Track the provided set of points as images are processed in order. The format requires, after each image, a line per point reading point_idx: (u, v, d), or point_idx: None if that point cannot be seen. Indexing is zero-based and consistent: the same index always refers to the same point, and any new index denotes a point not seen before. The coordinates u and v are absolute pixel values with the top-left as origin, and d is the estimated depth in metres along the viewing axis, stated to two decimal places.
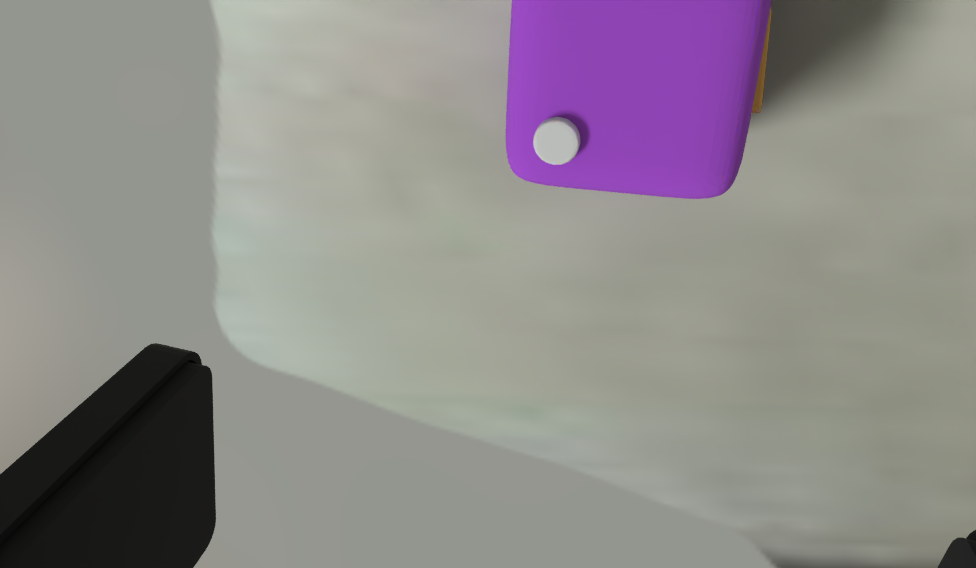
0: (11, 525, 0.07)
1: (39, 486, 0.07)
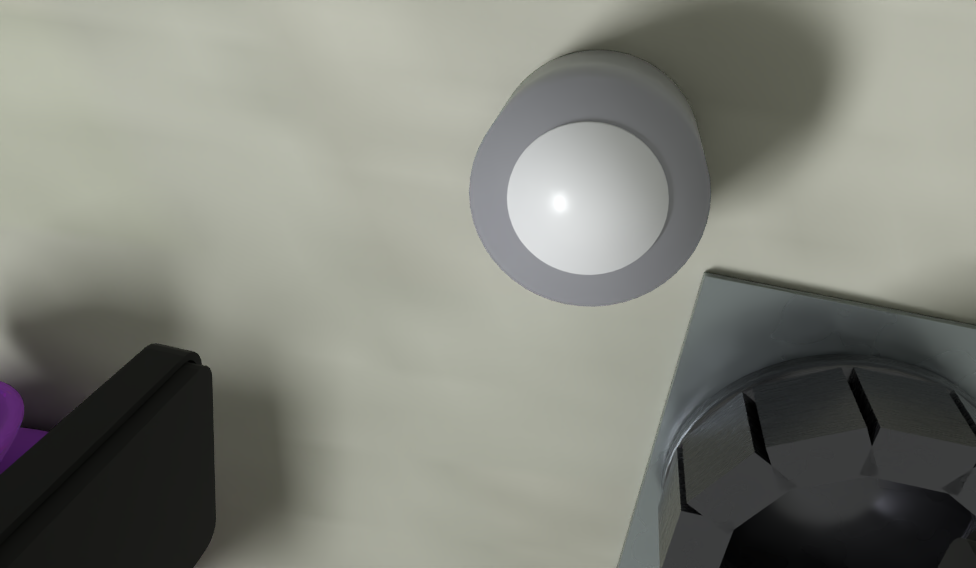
0: (11, 524, 0.07)
1: (39, 486, 0.07)
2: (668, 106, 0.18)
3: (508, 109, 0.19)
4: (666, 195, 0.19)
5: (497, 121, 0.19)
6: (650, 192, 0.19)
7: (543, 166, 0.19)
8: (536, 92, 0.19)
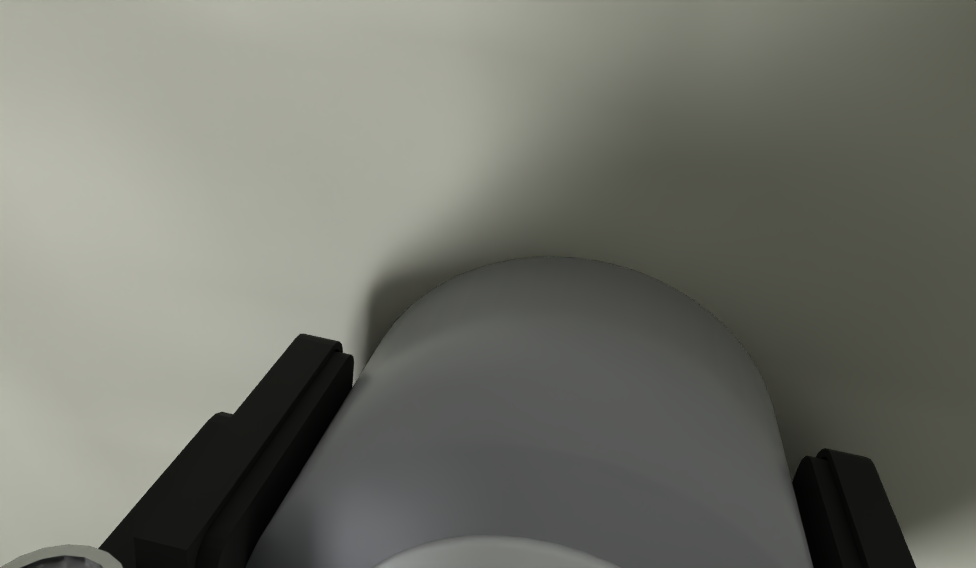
0: (226, 495, 0.07)
1: (241, 461, 0.08)
2: (735, 523, 0.07)
3: (309, 490, 0.07)
4: None
5: (285, 513, 0.07)
6: None
7: None
8: (376, 461, 0.07)
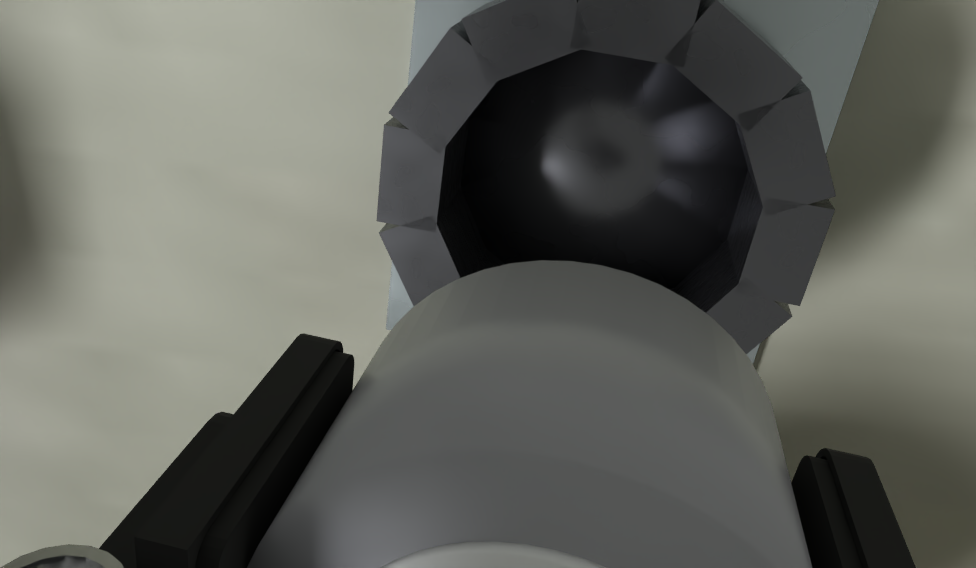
0: (226, 496, 0.07)
1: (242, 462, 0.08)
2: (735, 530, 0.07)
3: (308, 496, 0.07)
4: None
5: (284, 519, 0.07)
6: None
7: None
8: (375, 469, 0.07)
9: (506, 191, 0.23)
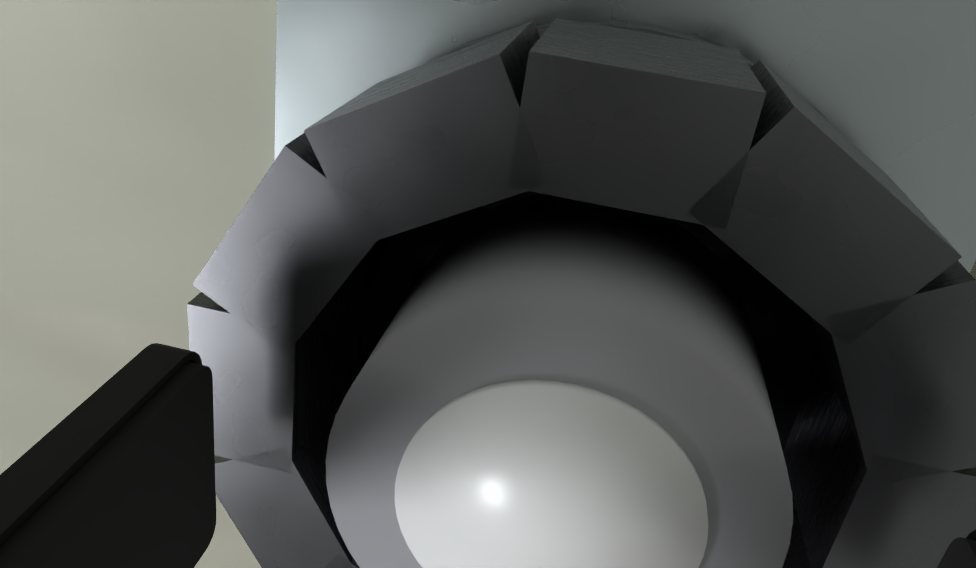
0: (11, 524, 0.07)
1: (40, 486, 0.07)
2: (710, 362, 0.09)
3: (389, 349, 0.10)
4: (702, 521, 0.10)
5: (369, 369, 0.10)
6: (672, 514, 0.10)
7: (459, 456, 0.10)
8: (442, 324, 0.09)
9: None
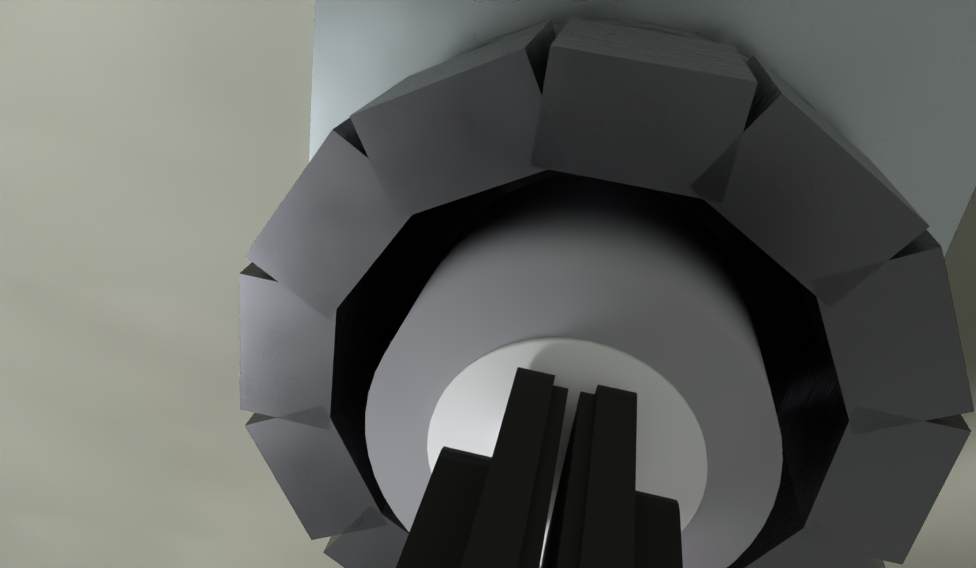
0: (522, 541, 0.07)
1: (522, 505, 0.08)
2: (708, 319, 0.10)
3: (423, 311, 0.11)
4: (703, 462, 0.11)
5: (405, 330, 0.11)
6: (675, 456, 0.11)
7: (487, 406, 0.11)
8: (471, 287, 0.10)
9: None
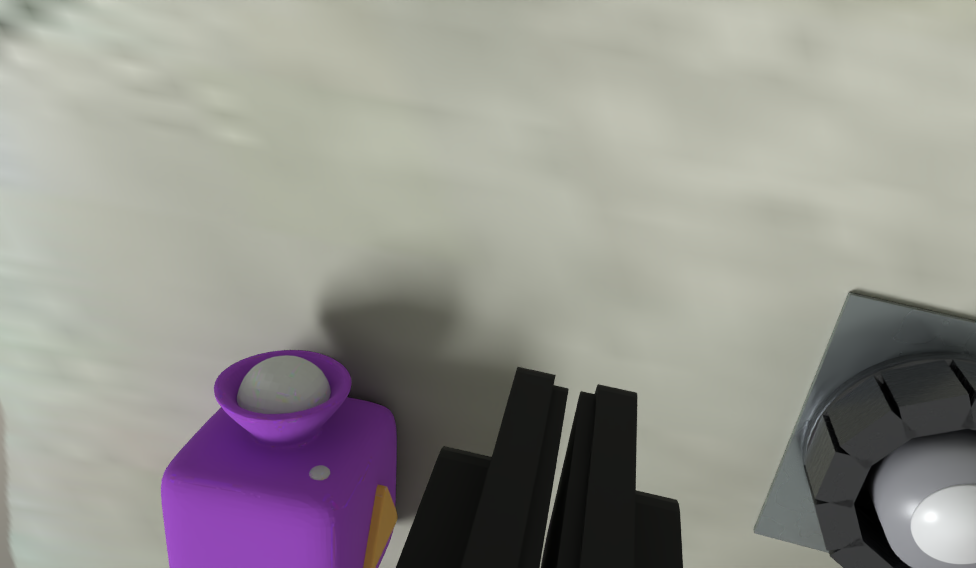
0: (522, 541, 0.07)
1: (522, 505, 0.08)
2: None
3: (923, 473, 0.32)
4: None
5: (915, 479, 0.32)
6: None
7: (941, 505, 0.33)
8: (944, 467, 0.32)
9: None
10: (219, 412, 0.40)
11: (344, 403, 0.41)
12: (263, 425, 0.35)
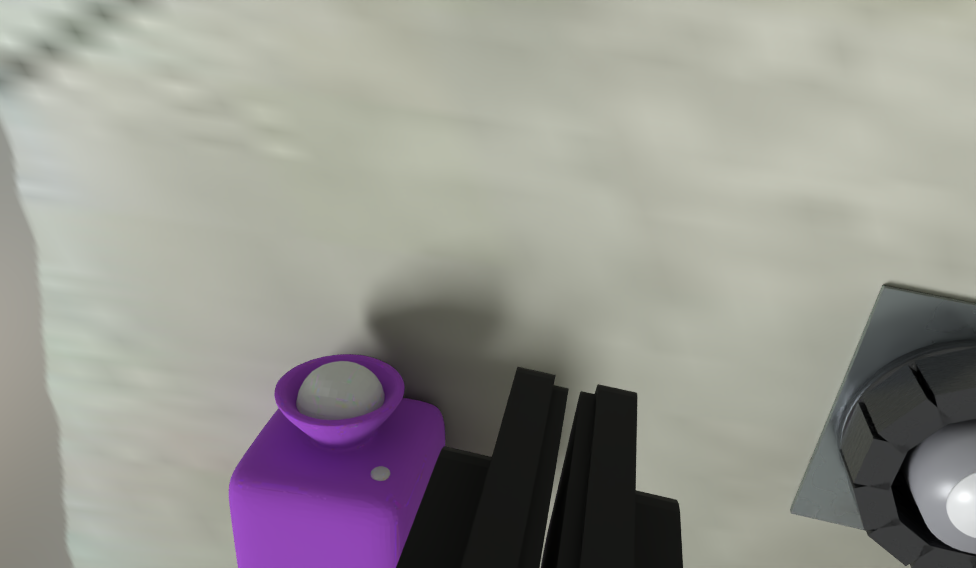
0: (522, 541, 0.07)
1: (522, 505, 0.08)
2: None
3: (958, 457, 0.34)
4: None
5: (950, 463, 0.34)
6: None
7: (975, 487, 0.34)
8: None
9: None
10: (276, 416, 0.42)
11: None
12: (326, 431, 0.37)
